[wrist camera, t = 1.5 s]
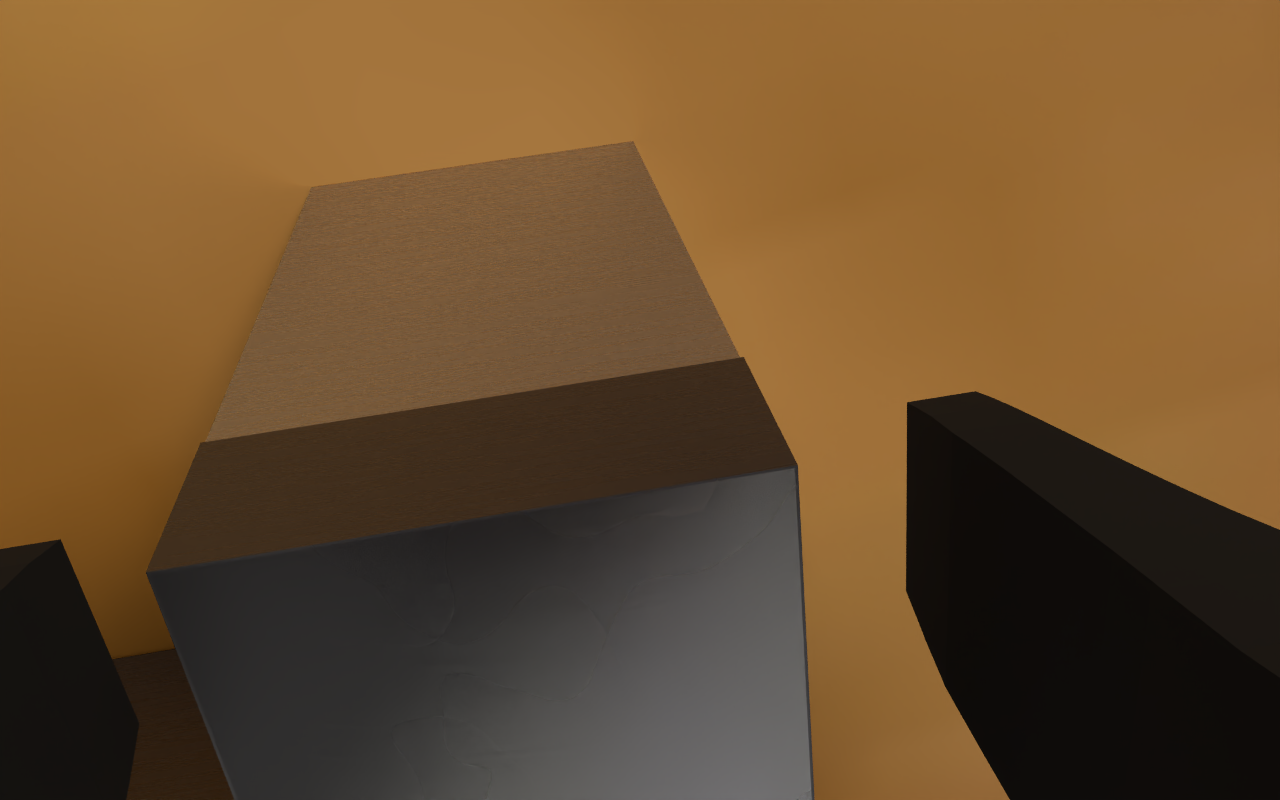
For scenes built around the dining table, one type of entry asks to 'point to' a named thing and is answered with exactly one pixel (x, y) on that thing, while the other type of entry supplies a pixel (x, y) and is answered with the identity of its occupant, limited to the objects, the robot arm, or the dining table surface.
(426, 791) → the key peg
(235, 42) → the dining table surface
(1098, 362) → the dining table surface
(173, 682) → the socket block
